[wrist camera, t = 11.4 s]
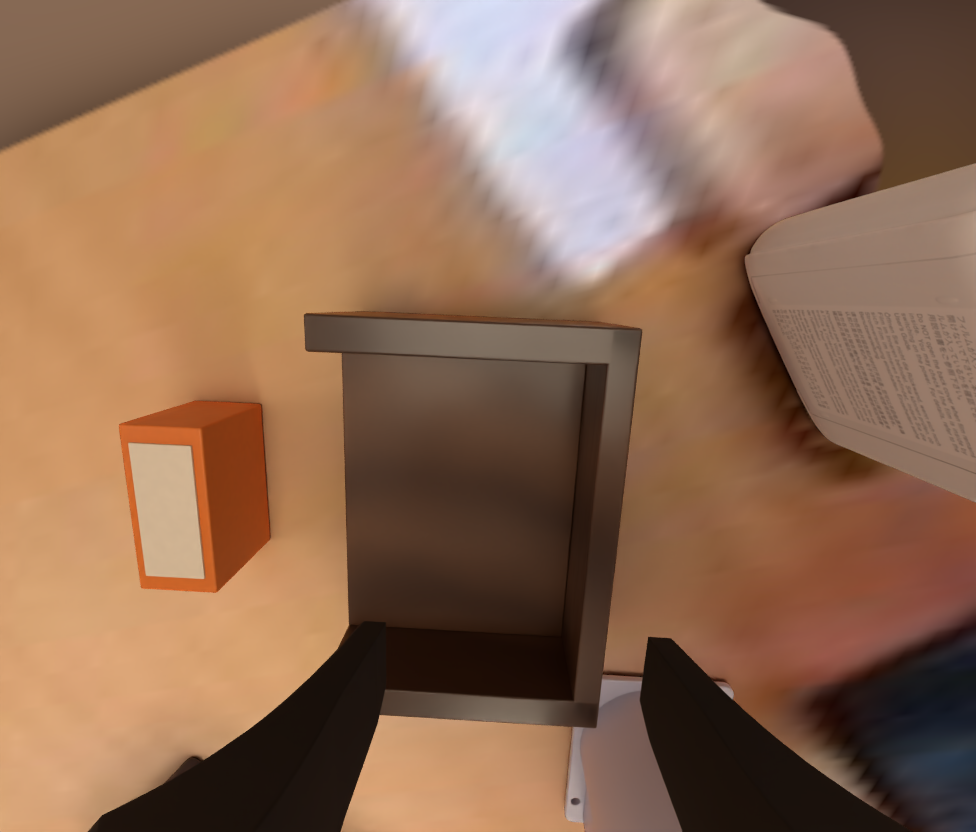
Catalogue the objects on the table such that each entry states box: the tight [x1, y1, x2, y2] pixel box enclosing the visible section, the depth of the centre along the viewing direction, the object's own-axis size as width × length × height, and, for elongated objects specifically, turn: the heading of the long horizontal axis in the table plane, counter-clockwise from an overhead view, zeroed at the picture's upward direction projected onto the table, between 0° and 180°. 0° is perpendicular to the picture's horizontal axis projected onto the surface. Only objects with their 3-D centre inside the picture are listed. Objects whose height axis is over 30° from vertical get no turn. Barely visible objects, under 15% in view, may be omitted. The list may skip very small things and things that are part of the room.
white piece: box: [745, 163, 976, 503], centre depth 15 cm, size 10×4×12 cm, turn 31°
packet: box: [119, 401, 270, 593], centre depth 21 cm, size 7×3×5 cm, turn 178°
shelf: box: [304, 311, 642, 728], centre depth 20 cm, size 15×11×6 cm
